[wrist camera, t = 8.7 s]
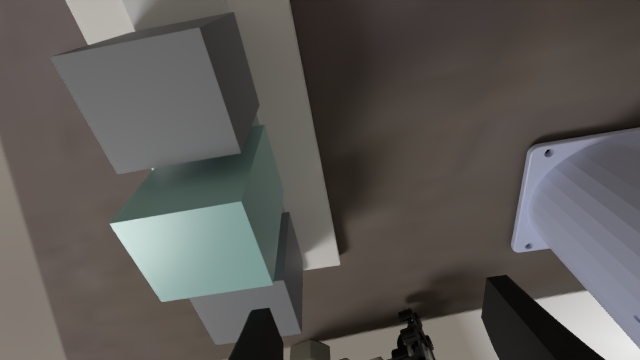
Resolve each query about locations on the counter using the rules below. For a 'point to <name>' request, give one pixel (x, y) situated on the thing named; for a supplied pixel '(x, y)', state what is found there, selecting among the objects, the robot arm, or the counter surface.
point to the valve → (409, 356)
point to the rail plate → (274, 106)
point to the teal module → (207, 223)
